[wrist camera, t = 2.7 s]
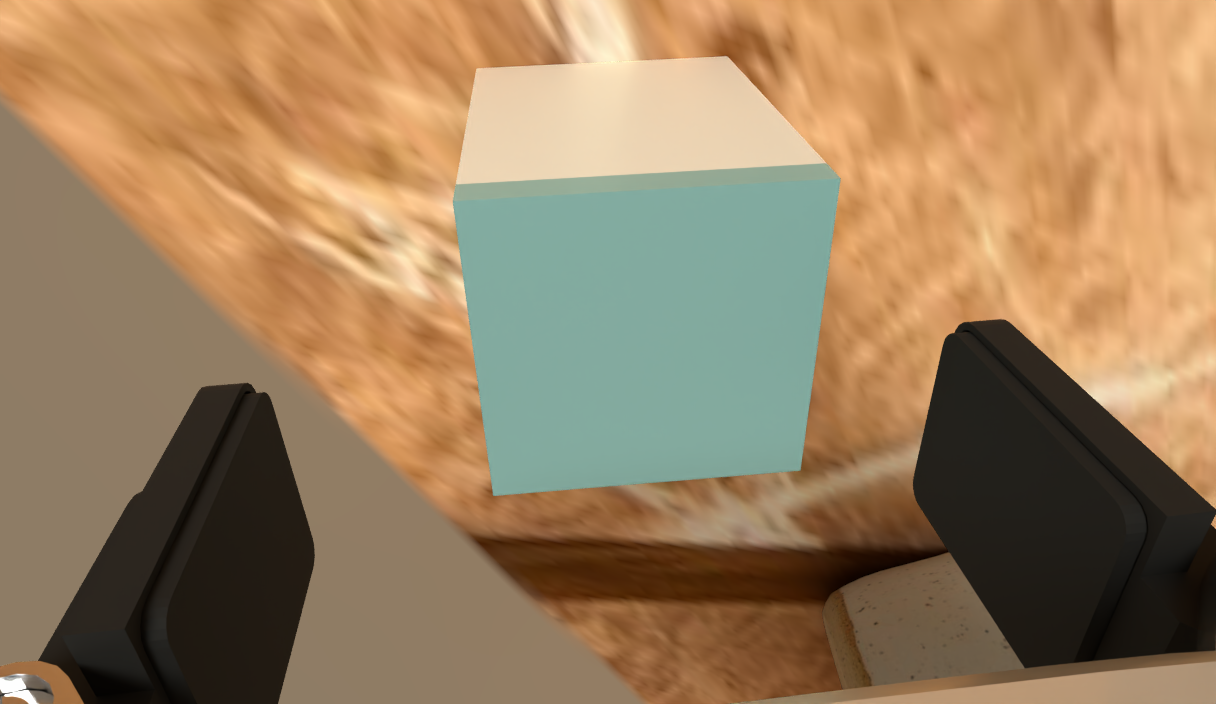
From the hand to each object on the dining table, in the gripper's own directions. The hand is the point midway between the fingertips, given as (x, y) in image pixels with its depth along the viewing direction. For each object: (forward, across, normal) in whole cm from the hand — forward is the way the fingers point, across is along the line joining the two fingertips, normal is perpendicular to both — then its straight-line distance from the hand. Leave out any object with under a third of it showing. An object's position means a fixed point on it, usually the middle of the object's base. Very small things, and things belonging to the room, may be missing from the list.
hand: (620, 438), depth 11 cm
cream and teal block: (+8, -1, -1) cm, 8 cm away
